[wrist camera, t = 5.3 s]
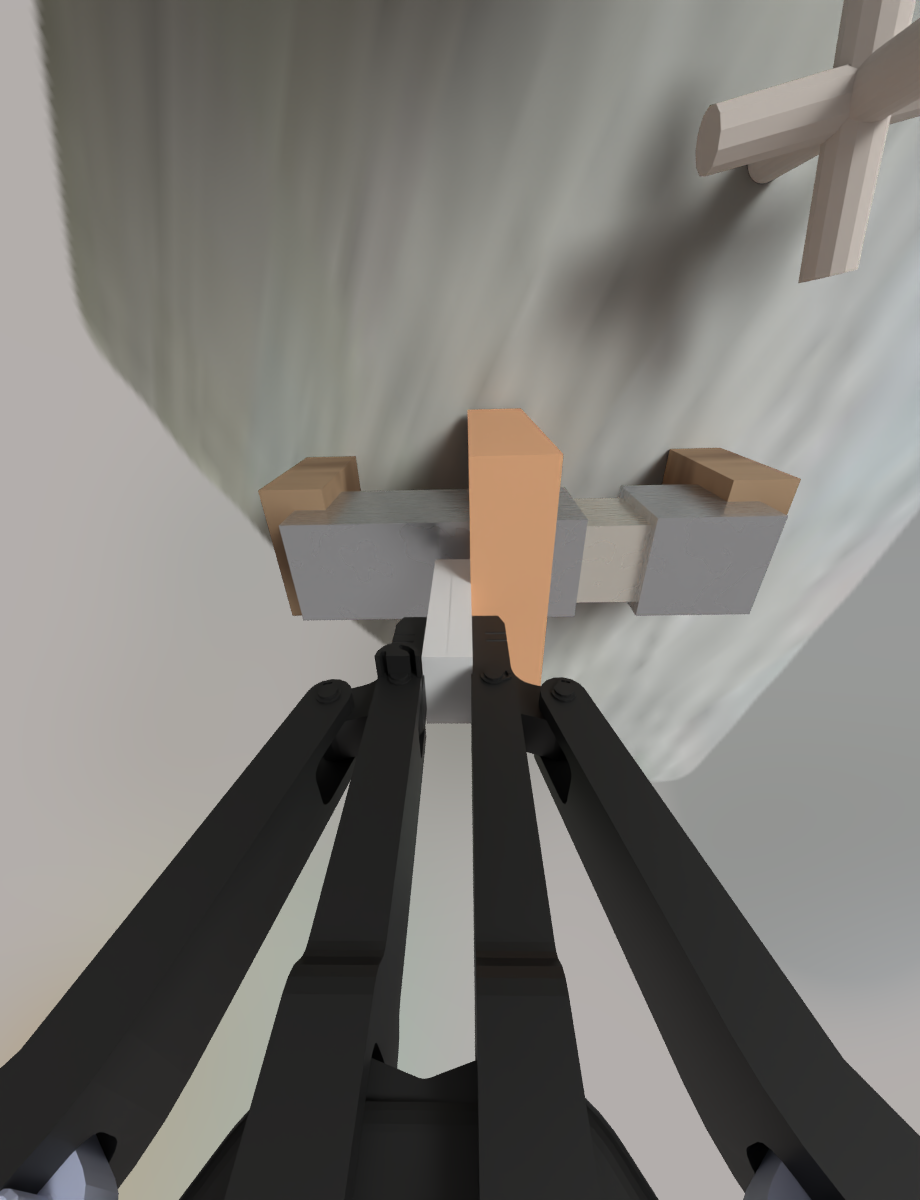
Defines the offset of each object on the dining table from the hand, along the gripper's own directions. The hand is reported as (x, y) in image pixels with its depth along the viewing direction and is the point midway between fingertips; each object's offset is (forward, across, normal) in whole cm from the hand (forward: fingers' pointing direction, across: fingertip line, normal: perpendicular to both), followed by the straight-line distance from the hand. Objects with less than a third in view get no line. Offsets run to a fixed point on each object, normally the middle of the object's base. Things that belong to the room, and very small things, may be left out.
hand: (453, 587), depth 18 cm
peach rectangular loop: (+10, +2, 0) cm, 11 cm away
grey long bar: (+6, +3, 0) cm, 7 cm away
